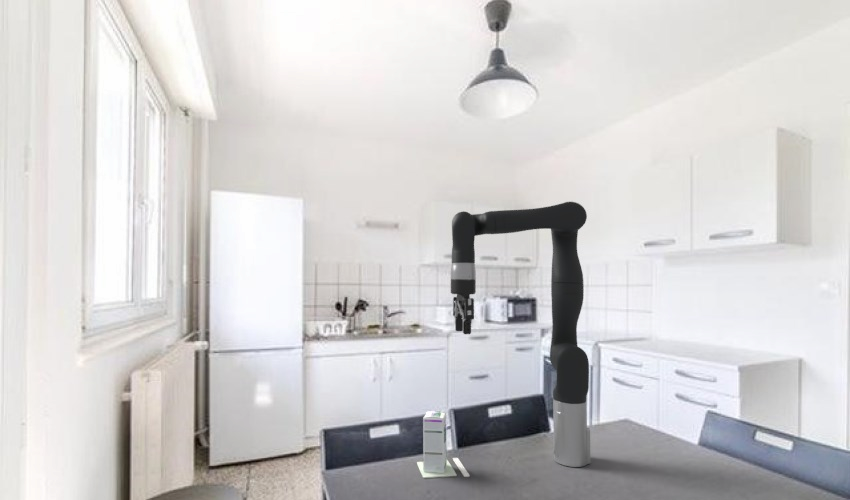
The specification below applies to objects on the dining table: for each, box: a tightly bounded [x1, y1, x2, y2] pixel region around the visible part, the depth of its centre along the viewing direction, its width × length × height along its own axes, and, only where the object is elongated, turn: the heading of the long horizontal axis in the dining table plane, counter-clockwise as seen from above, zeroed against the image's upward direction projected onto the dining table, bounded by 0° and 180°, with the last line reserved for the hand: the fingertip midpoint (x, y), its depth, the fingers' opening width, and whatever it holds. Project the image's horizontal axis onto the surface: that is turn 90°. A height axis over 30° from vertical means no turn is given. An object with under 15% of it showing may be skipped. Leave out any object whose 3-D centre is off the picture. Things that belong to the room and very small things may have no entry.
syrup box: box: [422, 410, 448, 473], centre depth 120 cm, size 6×6×14 cm
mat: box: [416, 459, 457, 479], centre depth 119 cm, size 9×10×1 cm
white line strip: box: [452, 457, 470, 478], centre depth 121 cm, size 2×12×1 cm, turn 11°
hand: (462, 332), depth 131 cm, fingers open, 8 cm apart
